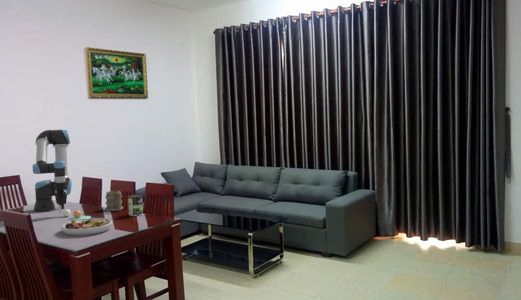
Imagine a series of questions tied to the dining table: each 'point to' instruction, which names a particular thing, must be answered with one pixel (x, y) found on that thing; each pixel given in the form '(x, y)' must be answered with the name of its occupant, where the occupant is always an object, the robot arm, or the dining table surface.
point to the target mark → (80, 218)
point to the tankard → (113, 201)
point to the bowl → (86, 226)
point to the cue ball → (66, 212)
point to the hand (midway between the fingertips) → (61, 213)
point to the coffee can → (135, 205)
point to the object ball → (77, 214)
